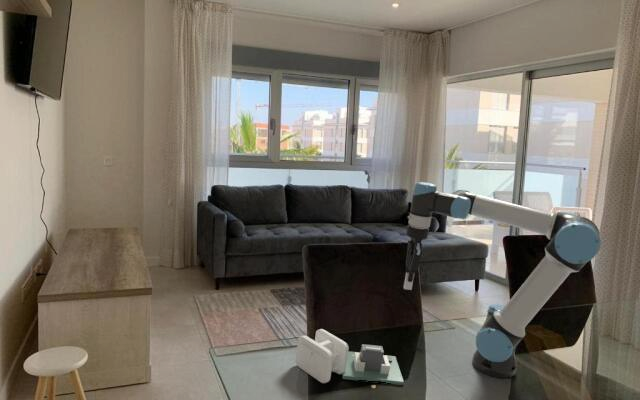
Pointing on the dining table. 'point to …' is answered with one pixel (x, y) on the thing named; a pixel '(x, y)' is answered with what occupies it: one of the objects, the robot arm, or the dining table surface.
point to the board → (386, 374)
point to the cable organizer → (322, 355)
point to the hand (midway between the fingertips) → (407, 288)
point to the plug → (371, 357)
